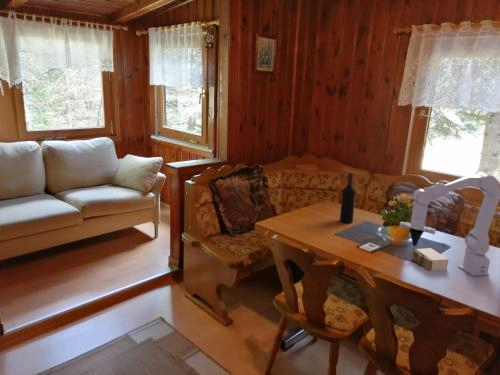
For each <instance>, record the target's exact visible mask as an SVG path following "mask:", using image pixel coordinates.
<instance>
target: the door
mask: <svg viewBox="0 0 500 375" xmlns="http://www.w3.org/2000/svg"><path fill="white" fill-rule="evenodd" d="M412 250H413V251H412V256H411V257H412V258H411V259H412V260H413V261H414V262H415V263H416V264H417V265H418V266H422V261H421V259H423V256H422V255H421V254H420V253H419V252H418V251H416V248H413V249H412Z"/></svg>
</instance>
